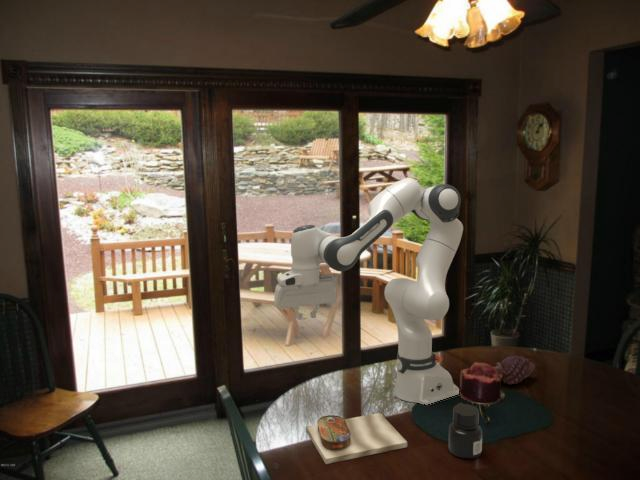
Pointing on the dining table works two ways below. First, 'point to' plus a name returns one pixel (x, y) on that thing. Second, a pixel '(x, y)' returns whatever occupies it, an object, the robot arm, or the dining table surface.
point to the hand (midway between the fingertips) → (306, 318)
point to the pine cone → (514, 369)
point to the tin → (333, 432)
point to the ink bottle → (465, 432)
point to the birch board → (361, 439)
